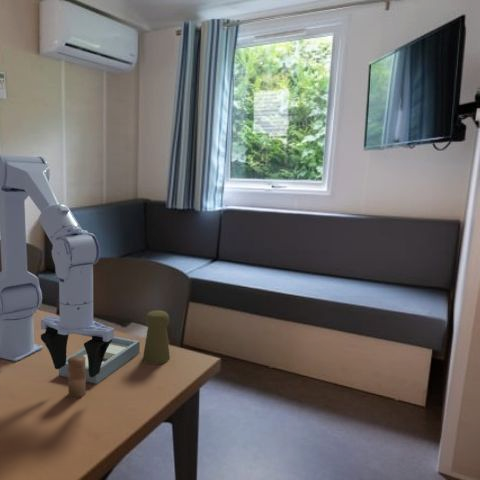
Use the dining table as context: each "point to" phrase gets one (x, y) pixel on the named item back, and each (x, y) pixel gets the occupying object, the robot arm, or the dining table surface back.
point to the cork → (156, 338)
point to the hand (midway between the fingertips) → (77, 370)
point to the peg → (76, 377)
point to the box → (116, 355)
